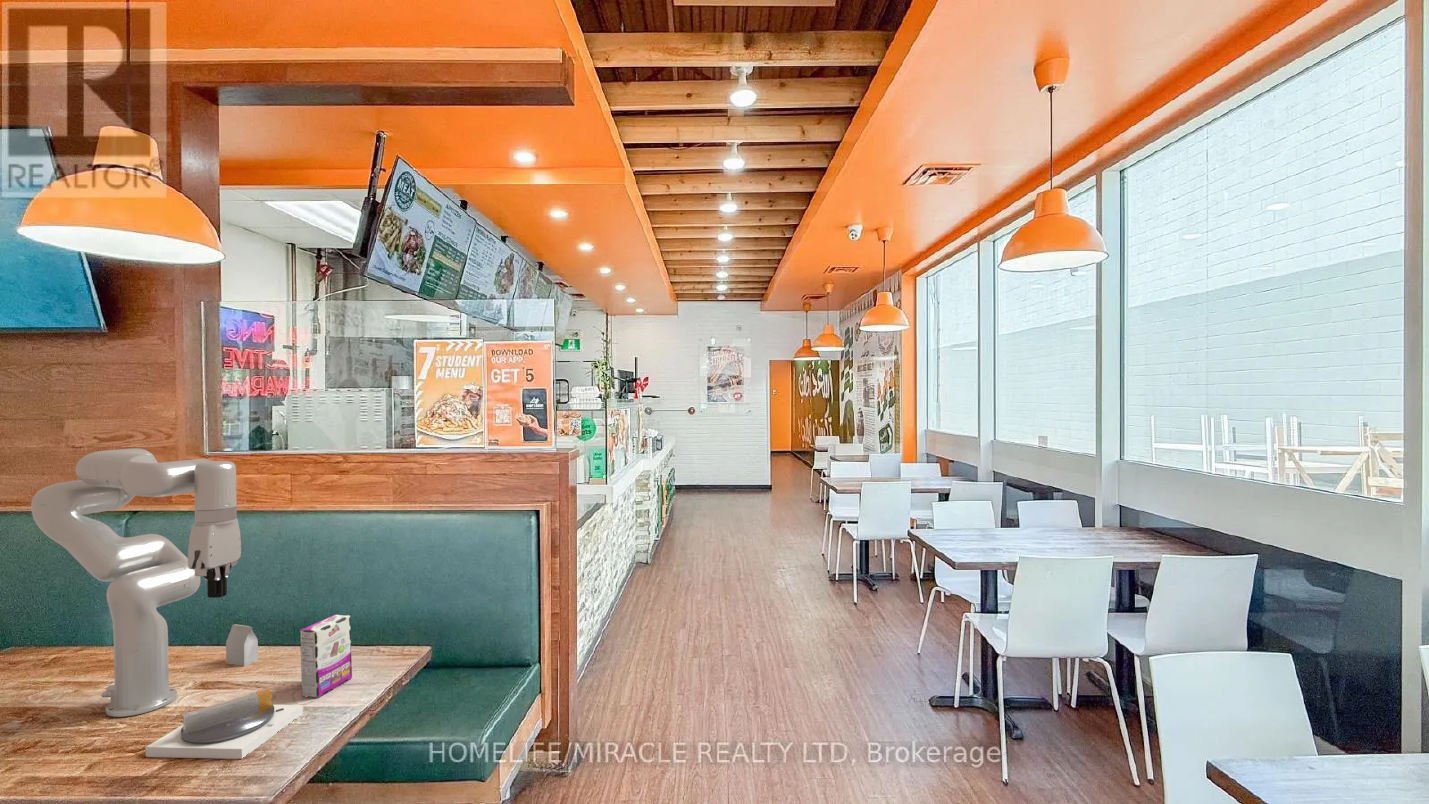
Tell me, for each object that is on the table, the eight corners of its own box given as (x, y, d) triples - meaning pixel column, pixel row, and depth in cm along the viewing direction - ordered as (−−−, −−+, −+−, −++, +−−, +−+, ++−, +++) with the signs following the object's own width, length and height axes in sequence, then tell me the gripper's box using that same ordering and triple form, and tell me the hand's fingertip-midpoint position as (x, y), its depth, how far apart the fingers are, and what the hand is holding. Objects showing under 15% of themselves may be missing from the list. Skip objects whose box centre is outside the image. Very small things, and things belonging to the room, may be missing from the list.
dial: (188, 753, 126) (188, 729, 126) (174, 725, 137) (173, 703, 137) (283, 721, 138) (283, 700, 138) (263, 698, 149) (263, 678, 149)
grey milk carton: (244, 666, 172) (243, 629, 172) (226, 663, 174) (225, 626, 174) (257, 661, 176) (257, 624, 175) (240, 657, 178) (239, 622, 178)
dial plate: (145, 756, 129) (145, 746, 129) (218, 712, 147) (218, 702, 147) (241, 758, 128) (241, 748, 128) (303, 713, 146) (303, 704, 146)
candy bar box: (335, 677, 166) (335, 613, 165) (352, 678, 165) (352, 615, 164) (299, 697, 155) (298, 629, 154) (317, 699, 154) (316, 630, 153)
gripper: (226, 509, 153) (227, 586, 153) (170, 522, 138) (172, 607, 138) (257, 509, 153) (258, 586, 153) (204, 522, 138) (205, 607, 138)
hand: (217, 596), depth 146 cm, fingers closed
